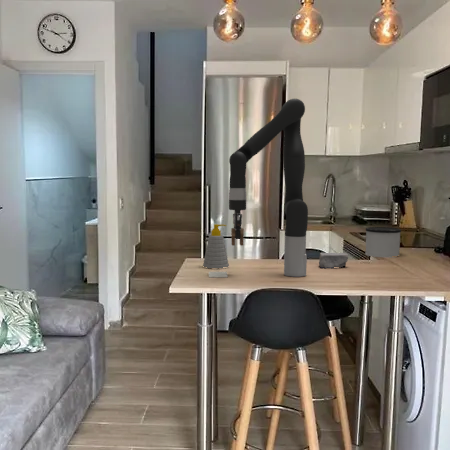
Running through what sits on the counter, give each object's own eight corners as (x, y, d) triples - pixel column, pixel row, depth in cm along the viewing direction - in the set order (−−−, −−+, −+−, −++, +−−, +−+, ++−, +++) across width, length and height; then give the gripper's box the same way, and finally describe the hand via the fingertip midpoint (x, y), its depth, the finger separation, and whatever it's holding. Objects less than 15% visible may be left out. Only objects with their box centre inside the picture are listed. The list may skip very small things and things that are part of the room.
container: (365, 251, 281) (366, 226, 280) (399, 253, 275) (400, 227, 274) (364, 256, 263) (365, 229, 262) (400, 258, 257) (401, 230, 256)
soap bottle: (224, 269, 219) (224, 225, 217) (198, 268, 223) (199, 224, 221) (232, 265, 230) (232, 223, 229) (208, 263, 234) (208, 222, 233)
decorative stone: (312, 267, 230) (325, 269, 221) (313, 252, 230) (325, 255, 221) (337, 265, 236) (350, 268, 227) (337, 251, 236) (350, 253, 227)
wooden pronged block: (242, 243, 208) (242, 228, 208) (243, 245, 203) (243, 229, 203) (231, 244, 208) (231, 228, 208) (231, 245, 203) (231, 229, 203)
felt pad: (226, 272, 212) (226, 271, 212) (227, 277, 201) (227, 276, 201) (208, 272, 212) (208, 271, 212) (208, 277, 201) (208, 276, 201)
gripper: (247, 199, 197) (247, 240, 199) (244, 198, 211) (244, 236, 213) (229, 199, 197) (229, 240, 198) (228, 198, 211) (228, 236, 213)
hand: (237, 238), depth 206 cm, fingers closed on wooden pronged block, 5 cm apart
